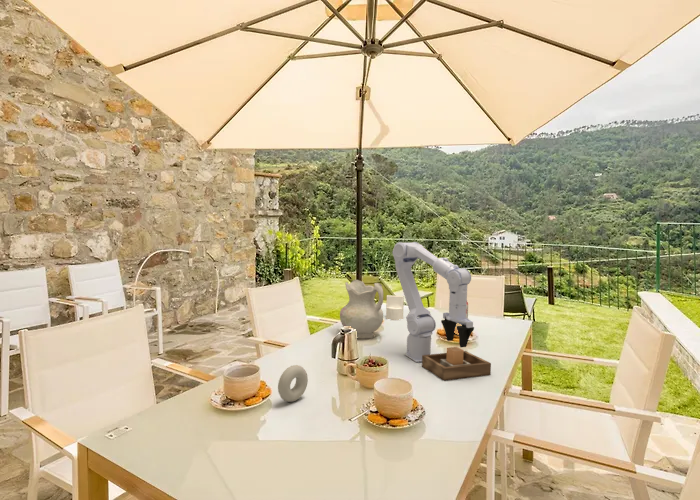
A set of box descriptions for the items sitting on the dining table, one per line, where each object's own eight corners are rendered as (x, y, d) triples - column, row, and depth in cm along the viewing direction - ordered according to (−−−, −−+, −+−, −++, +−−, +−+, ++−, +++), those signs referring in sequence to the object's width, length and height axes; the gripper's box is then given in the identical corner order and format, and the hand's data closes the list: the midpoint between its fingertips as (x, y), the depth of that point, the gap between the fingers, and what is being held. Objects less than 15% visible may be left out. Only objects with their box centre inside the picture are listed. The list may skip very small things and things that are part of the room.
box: (421, 366, 145) (422, 355, 145) (465, 361, 151) (465, 350, 151) (444, 381, 132) (444, 368, 132) (490, 374, 138) (491, 363, 138)
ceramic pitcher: (394, 337, 185) (397, 282, 186) (373, 344, 169) (376, 283, 169) (353, 330, 197) (356, 278, 197) (330, 336, 180) (333, 279, 181)
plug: (446, 367, 143) (446, 347, 142) (455, 366, 144) (456, 346, 144) (452, 371, 139) (453, 351, 139) (462, 370, 140) (463, 350, 140)
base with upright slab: (385, 319, 215) (385, 297, 215) (386, 316, 224) (387, 294, 223) (402, 320, 214) (403, 297, 213) (403, 317, 223) (404, 295, 222)
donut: (283, 408, 110) (283, 371, 110) (274, 404, 112) (275, 368, 112) (310, 397, 118) (310, 362, 117) (301, 393, 120) (302, 360, 119)
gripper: (436, 300, 146) (434, 338, 147) (460, 309, 132) (459, 350, 133) (453, 300, 148) (451, 337, 149) (478, 308, 135) (477, 349, 135)
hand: (456, 343), depth 141 cm, fingers open, 7 cm apart
